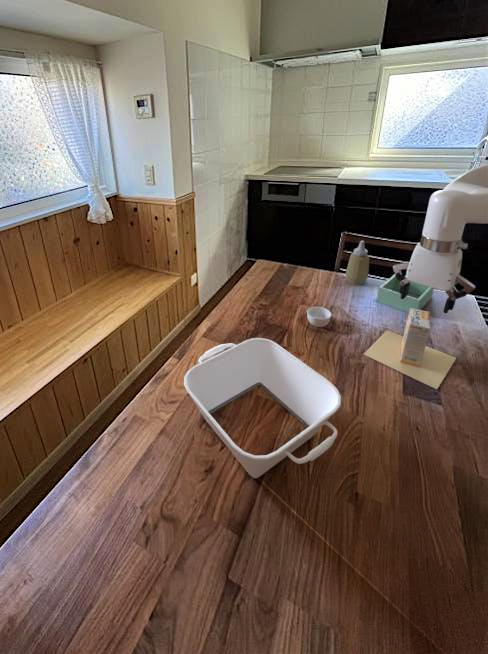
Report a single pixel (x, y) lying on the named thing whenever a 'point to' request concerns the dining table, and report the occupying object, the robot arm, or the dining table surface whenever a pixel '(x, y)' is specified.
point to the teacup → (318, 316)
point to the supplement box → (415, 337)
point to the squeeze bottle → (358, 266)
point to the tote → (408, 302)
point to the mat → (390, 355)
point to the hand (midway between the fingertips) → (424, 303)
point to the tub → (278, 380)
